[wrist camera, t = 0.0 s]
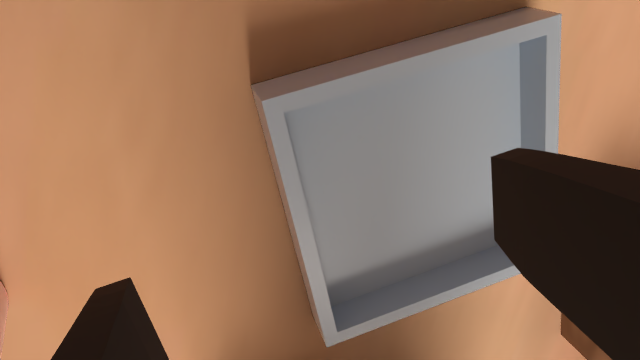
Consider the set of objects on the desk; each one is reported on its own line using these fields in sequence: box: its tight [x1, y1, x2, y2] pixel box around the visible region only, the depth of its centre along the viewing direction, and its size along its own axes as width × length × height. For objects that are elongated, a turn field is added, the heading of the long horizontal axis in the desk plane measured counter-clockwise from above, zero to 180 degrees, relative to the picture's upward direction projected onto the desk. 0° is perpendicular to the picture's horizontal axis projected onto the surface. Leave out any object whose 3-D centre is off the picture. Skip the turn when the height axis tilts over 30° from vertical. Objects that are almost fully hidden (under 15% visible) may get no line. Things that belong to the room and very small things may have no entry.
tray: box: [251, 7, 561, 347], centre depth 21 cm, size 11×11×2 cm
